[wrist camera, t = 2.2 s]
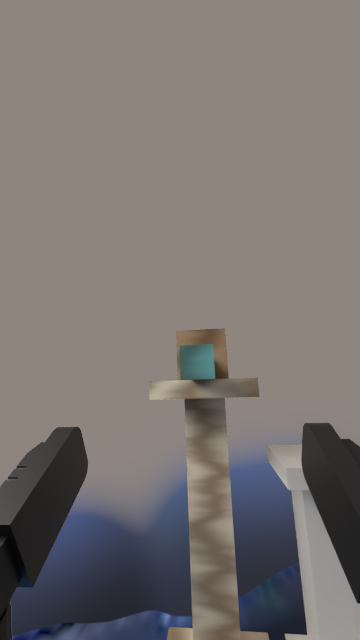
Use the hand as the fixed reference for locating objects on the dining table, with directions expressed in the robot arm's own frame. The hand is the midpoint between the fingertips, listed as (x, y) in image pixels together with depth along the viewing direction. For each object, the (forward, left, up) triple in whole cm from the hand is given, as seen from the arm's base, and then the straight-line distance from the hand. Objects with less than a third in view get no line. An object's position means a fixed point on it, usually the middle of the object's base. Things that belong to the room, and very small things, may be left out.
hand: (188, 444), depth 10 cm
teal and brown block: (0, +19, +2) cm, 20 cm away
